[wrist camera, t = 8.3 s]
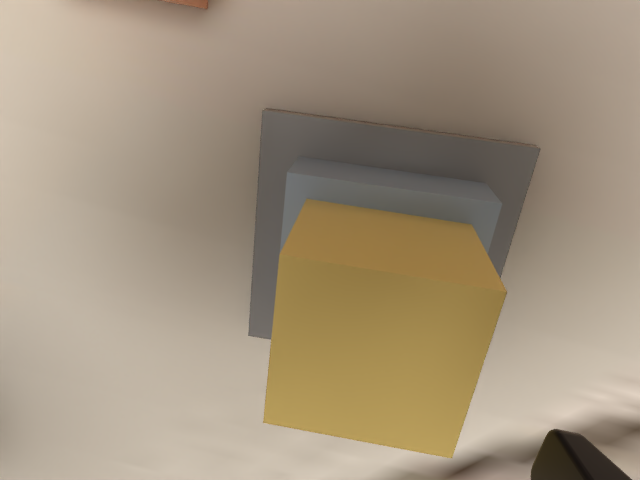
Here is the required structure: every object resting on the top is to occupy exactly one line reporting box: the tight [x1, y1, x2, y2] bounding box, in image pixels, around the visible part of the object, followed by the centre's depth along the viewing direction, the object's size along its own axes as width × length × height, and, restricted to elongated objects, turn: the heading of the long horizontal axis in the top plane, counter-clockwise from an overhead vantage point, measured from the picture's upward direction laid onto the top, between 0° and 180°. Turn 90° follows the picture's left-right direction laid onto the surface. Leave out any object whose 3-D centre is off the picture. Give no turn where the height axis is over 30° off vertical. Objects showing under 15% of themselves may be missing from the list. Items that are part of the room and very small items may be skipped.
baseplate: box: [248, 108, 540, 339], centre depth 17 cm, size 10×10×3 cm
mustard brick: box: [263, 199, 507, 458], centre depth 14 cm, size 6×6×4 cm
